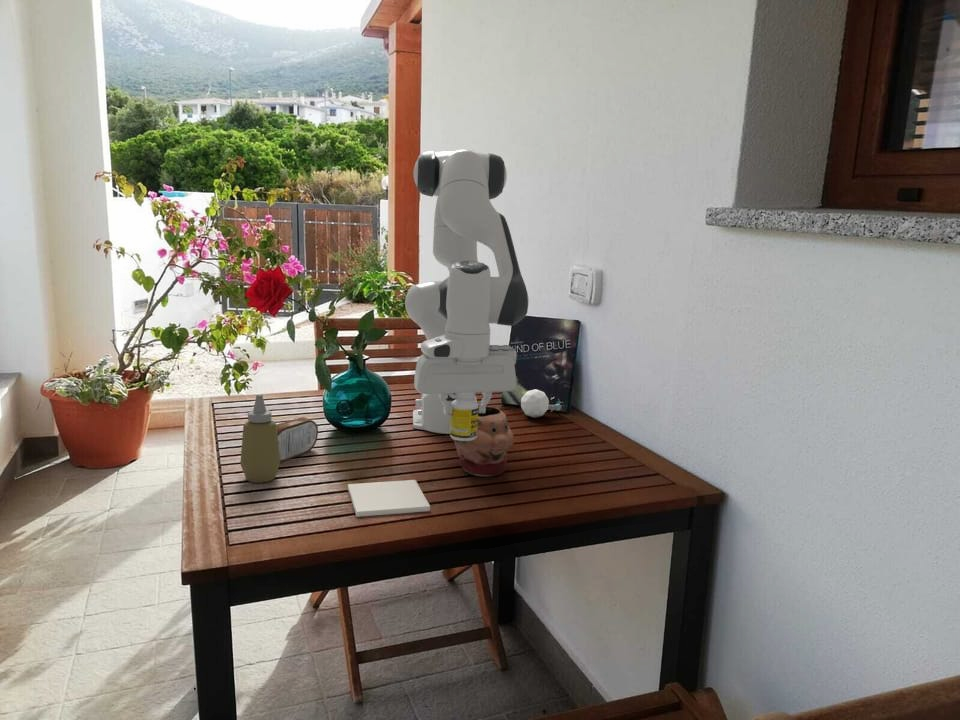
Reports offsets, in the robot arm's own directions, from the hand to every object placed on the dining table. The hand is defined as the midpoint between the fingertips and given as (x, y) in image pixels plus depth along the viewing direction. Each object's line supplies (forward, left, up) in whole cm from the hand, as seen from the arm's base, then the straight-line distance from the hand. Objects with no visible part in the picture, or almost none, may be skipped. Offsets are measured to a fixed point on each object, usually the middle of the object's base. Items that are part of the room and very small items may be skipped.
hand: (464, 413), depth 143 cm
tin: (-29, -32, -17) cm, 47 cm away
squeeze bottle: (-16, -39, -17) cm, 46 cm away
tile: (0, -15, -17) cm, 23 cm away
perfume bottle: (-52, +38, -17) cm, 67 cm away
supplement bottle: (0, 0, -5) cm, 5 cm away
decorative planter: (-14, +8, -17) cm, 24 cm away
